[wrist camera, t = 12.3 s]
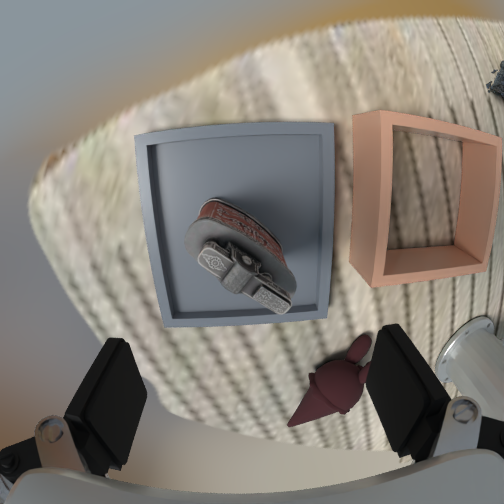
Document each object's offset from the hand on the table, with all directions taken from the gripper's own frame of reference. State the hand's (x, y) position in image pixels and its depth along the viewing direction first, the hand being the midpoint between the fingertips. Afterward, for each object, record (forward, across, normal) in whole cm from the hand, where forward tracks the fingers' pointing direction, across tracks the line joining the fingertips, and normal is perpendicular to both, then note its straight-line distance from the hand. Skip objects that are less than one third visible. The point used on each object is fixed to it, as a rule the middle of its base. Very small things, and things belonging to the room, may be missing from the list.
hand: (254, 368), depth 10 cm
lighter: (+16, +1, 0) cm, 16 cm away
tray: (+17, +1, 0) cm, 17 cm away
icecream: (+18, -9, +18) cm, 27 cm away
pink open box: (+17, -17, -4) cm, 25 cm away
